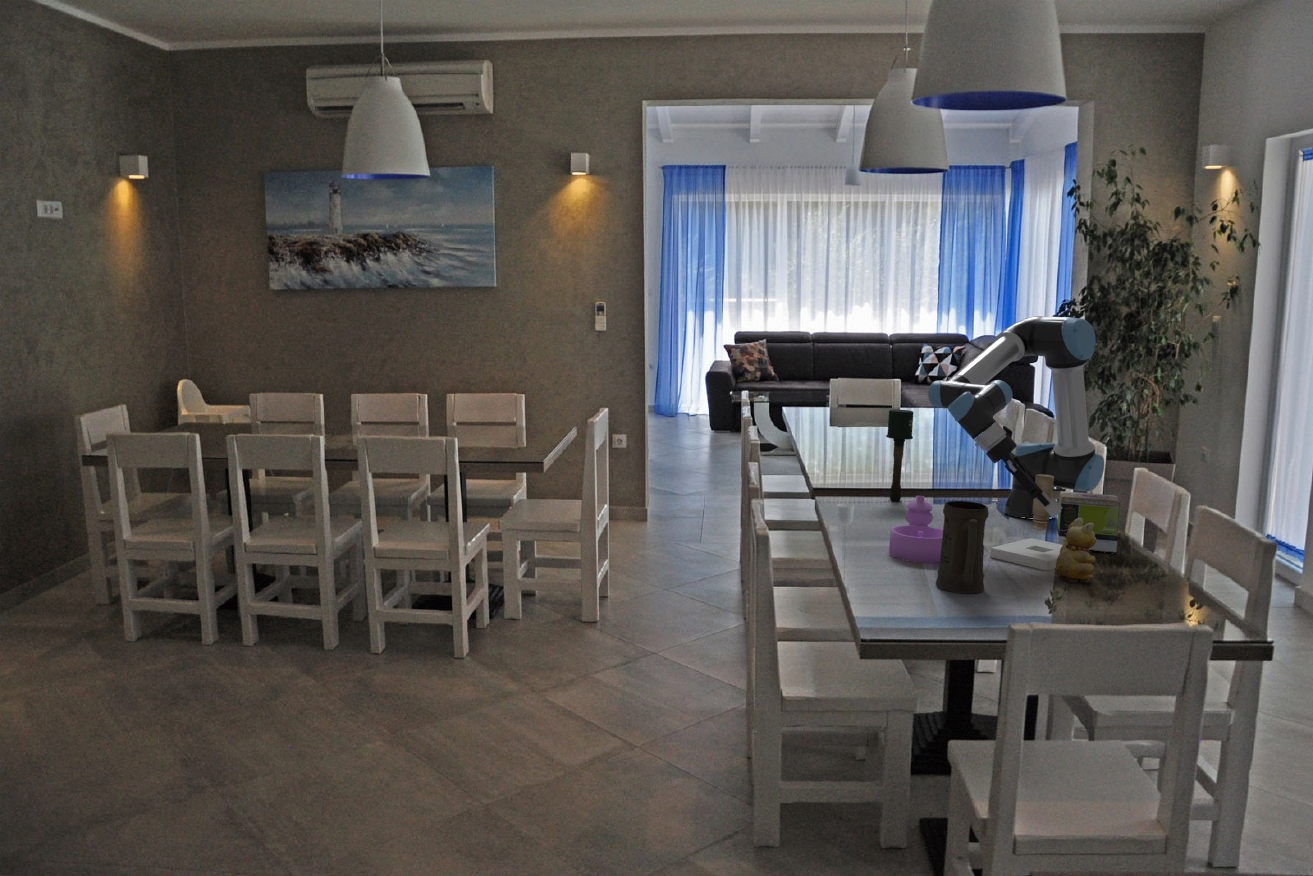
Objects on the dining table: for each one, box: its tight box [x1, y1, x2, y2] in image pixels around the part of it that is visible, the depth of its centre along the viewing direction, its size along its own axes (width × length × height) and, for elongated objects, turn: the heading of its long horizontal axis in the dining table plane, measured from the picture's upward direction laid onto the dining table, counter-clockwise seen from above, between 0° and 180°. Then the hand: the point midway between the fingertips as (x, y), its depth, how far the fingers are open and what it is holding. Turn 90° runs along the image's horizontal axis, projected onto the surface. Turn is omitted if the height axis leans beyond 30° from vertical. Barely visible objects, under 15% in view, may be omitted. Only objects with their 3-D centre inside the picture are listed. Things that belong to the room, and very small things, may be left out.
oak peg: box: [1032, 474, 1054, 531], centre depth 265 cm, size 4×4×14 cm
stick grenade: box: [885, 408, 914, 502], centre depth 338 cm, size 8×9×30 cm
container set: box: [888, 495, 943, 564], centre depth 270 cm, size 25×15×13 cm, turn 168°
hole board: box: [989, 537, 1063, 571], centre depth 268 cm, size 20×16×2 cm
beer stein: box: [935, 500, 989, 595], centre depth 234 cm, size 15×11×20 cm
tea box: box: [1056, 491, 1121, 552], centre depth 281 cm, size 15×10×15 cm
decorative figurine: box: [1055, 518, 1097, 583], centre depth 246 cm, size 10×8×15 cm
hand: (1057, 512), depth 264 cm, fingers closed on oak peg, 4 cm apart
